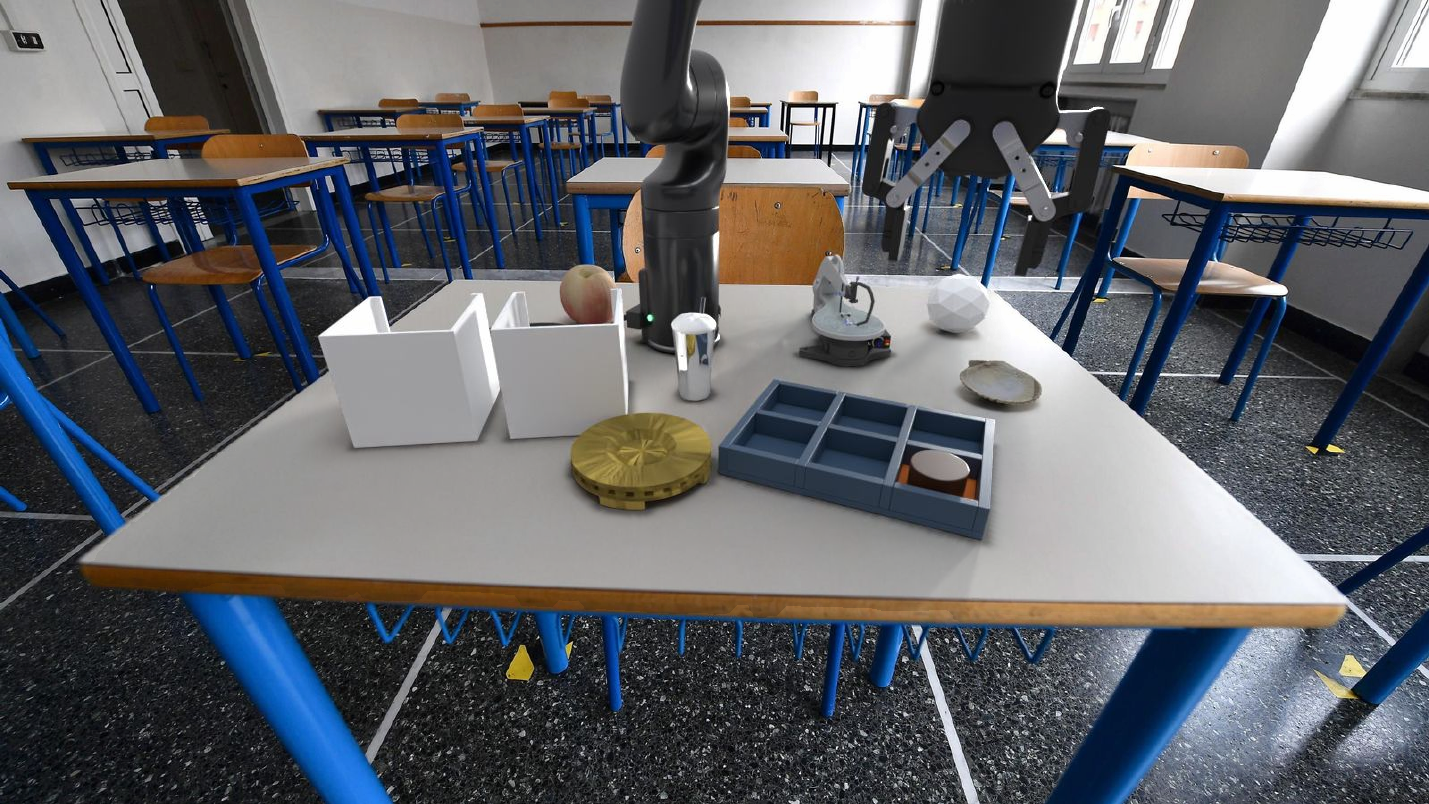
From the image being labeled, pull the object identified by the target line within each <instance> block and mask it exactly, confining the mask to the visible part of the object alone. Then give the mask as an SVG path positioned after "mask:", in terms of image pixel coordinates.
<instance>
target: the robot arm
mask: <svg viewBox="0 0 1429 804" xmlns="http://www.w3.org/2000/svg"><path fill="white" fill-rule="evenodd" d="M703 2H704V0H636V5H635V10H634V13H633V18H632V22H631V27H630V32H629V35H628V40H627V44H626V49H625V54H624V58H623V62H622V67H621V68H622V69H621V75H620V84H619V104H620V111H621V115H622V118H623V122H624V124H625V126H626V129H627V130H628V132H629V133H630V134H631V135H632V137H633V138H635V140H637V141H639V142H640V143H643V144H647V145H664V152H663V157H662V159H661V161H660V162H659V164H658V165H657V167H656V168H655V169H654V170H653V171H652V172H651V173H649V174H648V175H647V176H646V177H645V178H644V179H643V180H642V182H641V183H640V184H641V185H640V205H641V206H640V207H641V226H642V228H641V229H642V241H643V262H644V267H643V268H641V269H640V270H638V272H637V275H638V276H637V277H638V279H637V280H638V293H639V295H638V296H639V303H638V304H636V305H634V306H633V307H631V308H629V309H627V310H626V311H625V314H623V317H624V322H626V328H627V329H634V330H640V331H641V342H642V344H646V345H649V346H650V347H651V348H653V349H655V350H657V351H660V352H663V353H668V354H675V348H674V341H673V333H672V327H671V323H672V321H673V320H674V319H675V318H676V317H678V316H679V315H680V314H685V313H700V305H701V298H702V297H705V298H706V299H705V307H704V314H707V315H709V316H710V317H711V318H713V319H714V321H715V322H716V329H715V338H714V347H716V346H717V345H718V344H720V343H719V342H720V319H721V317H722V308H721V305H720V193H721V190H722V187H723V184H724V182H725V179H726V174H727V167H728V153H729V152H728V149H729V134H730V132H729V131H730V112H731V111H730V110H731V109H730V104H731V103H730V90H729V85H728V79H727V77H726V73H725V70H724V69H723V66H722V65H721V63H720V62H719V60H717V59H716V58H715V56H713V55H712V54H711V53H710V52H709V53H708V52H707V51H704V50H699V49H694V48H693V49H692V47H693V43H694V42H693V40H694V35H695V31H696V27H697V24H698V23H697V22H698V19H699V15H700V11H701V7H702V4H703ZM1081 2H1082V0H943V2H942V8H941V15H940V20H939V21H940V22H939V28H938V33H937V39H936V45H935V51H934V59H933V63H932V70H931V76H930V82H929V88H928V91H927V95H926V97H925V98H924V100H923V102H922V103H921V105H920V106H917V105H916V106H914V105H905V104H898V103H897V102H895V101H884V102H882V103H880V104H879V105H878V106H877V107H876V109H875V113H874V118H873V125H872V129H871V134H870V140H869V144H868V151H867V156H866V162H865V168H864V172H863V178H862V183H861V191H862V193H863V194H864V195H865V196H867V197H872V198H874V199H876V200H878V201H880V202H881V203H883V205H884V207H885V215H884V222H883V230H882V235H881V243H880V245H881V250H882V253H888V257H887V260H888V261H890V262H899V261H900V260H901V259H902V256H903V252H904V248H905V247H904V246H905V240H906V235H907V229H908V223H909V222H908V221H909V216H910V210H911V205H910V204H909V205H908V201H909V198H910V197H911V196H912V195H913V193H914V192H916V191H917V190H918V189H919V187H921V186H922V184H923V183H924V182H925V181H926V180H927V179H928V178H929V177H930V176H931V175H932V174H933V173H934V172H935V171H936V170H937V169H939V170H940V171H941V172H942V173H944V174H945V175H947V177H954V178H955V177H956V178H961V177H966V176H972V175H973V176H977V177H979V178H982V179H985V180H999V179H1001V178H1003V177H1007V176H1009V175H1011V174H1012V177H1013V178H1014V181H1015V182H1016V183H1017V185H1018V188H1019V189H1020V191H1021V192H1022V195H1023V196H1024V199H1025V200H1026V202H1027V204H1028V206H1029V207H1030V209H1031V211H1032V213H1031V215H1028V216H1027V220H1026V224H1025V228H1024V232H1023V236H1022V240H1021V244H1020V248H1019V251H1018V256H1017V259H1016V263H1015V267H1014V276H1016V277H1026V276H1027V273H1028V270H1029V269H1031V270H1036V269H1038V267H1039V266H1040V264H1041V263H1042V261H1043V258H1044V253H1045V250H1046V246H1047V243H1048V239H1049V235H1050V232H1051V229H1052V225H1053V223H1055V221H1056V220H1057V219H1059V218H1060V217H1064V216H1068V215H1073V214H1078V215H1079V214H1083V213H1085V212H1086V211H1088V210H1089V208H1090V207H1091V205H1092V200H1093V196H1094V192H1095V187H1096V183H1097V179H1098V175H1099V171H1100V166H1101V162H1102V158H1103V153H1104V149H1105V145H1106V142H1107V141H1106V140H1107V136H1108V133H1109V128H1110V123H1111V119H1112V114H1111V112H1110V110H1108V109H1107V108H1104V107H1100V106H1095V107H1091V108H1090V109H1089V110H1088V109H1087V110H1060V109H1059V105H1058V93H1059V88H1060V84H1061V80H1062V76H1063V72H1064V68H1065V64H1066V61H1067V57H1068V52H1069V49H1070V45H1071V41H1072V38H1073V33H1074V29H1075V26H1076V21H1077V17H1078V12H1079V11H1080V6H1081ZM913 123H916V127H917V129H918V131H919V133H920V135H921V138H922V139H923V141H924V144H925V145H926V147H927V149H928V150H926V152H925V153H923V155H922V156H921V157H920V158H919V159H918V160H917V161H916V162H915V164H914V165H913V166H912V167H911V168H910V169H909V170H908V171H907V172H906V174H904V176H903V177H902V178H901V179H900V180H899V181H898V182H897V183H896V182H894V181H892V180H891V179H887V178H888V174H889V173H888V172H889V168H890V162H891V158H892V153H893V148H894V142H895V140H897V139H901V138H902V137H903V136H904V135H905V134H906V132H907V129H908V127H910V125H911V124H913ZM1057 129H1061V130H1062V131H1064V133H1065V141H1066V144H1067V145H1068V146H1069V147H1070V148H1073V149H1076V152H1075V156H1074V162H1073V165H1072V171H1071V176H1070V181H1069V185H1068V190H1067V191H1065V192H1062V193H1057V194H1053V195H1052V194H1051V192H1050V191H1049V189H1048V187H1047V185H1046V183H1045V181H1044V179H1043V177H1042V175H1041V173H1040V171H1039V169H1038V167H1037V165H1036V163H1035V160H1034V158H1033V157H1032V155H1033V153H1034V152H1035V151H1036V150H1037V149H1038V148H1039V147H1041V145H1042V144H1044V142H1046V141H1047V140H1048V139H1049V138H1050V137H1051V136H1052V135H1053V134H1054V133H1055V132H1056V130H1057ZM610 324H613V321H612V322H611V323H610ZM529 325H530V327H538V326H564V325H565V324H563V323H560V322H529ZM491 328H492V326H491V327H489V330H491ZM490 334H491V331H490Z"/></svg>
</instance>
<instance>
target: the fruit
mask: <svg viewBox="0 0 1429 804" xmlns="http://www.w3.org/2000/svg"><path fill="white" fill-rule="evenodd" d="M611 289H618V287H617V285H616V283H615V281H614V279H613V278H612V276H611V274H610V273H608V272H607V270H605V269H604V268H602V267H601V266H598V265H594V264H579V265H575V266H573V267H571V268H570V269H569V270H568V271H567V272H566V273H565V275H564V276H563V278H562V280H561V282H560V285H559V299H560V303H561V306H562V309H563V311H564V312H565V313H566V315H567V316H568V317H569V318H570V319H571V320H573V322H575V323H577V325H590V324H606V323H607V322H609V321H610V320H611V319H613V315H612V303H611Z"/></svg>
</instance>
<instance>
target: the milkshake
mask: <svg viewBox="0 0 1429 804" xmlns="http://www.w3.org/2000/svg"><path fill="white" fill-rule="evenodd" d="M705 299H706V298H705V297H702V298H701V305H700V313H685V314H680V315H679V316H678V317H676V318H675V319H674V320H673V321H672V323H671V327H672V333H673V341H674V348H675V353H674V355H675V365H676V375H677V381H678V382H677V384H678V392H679V395H680V397H681V399H683V400H686V401H689V402H699V401H703V400H706V399H707V398H708V397H709V396H710V394H711V385H712V371H713V359H714V348H715V346H714V338H715V329H716V322H715V321H714V319H713V318H711V317H710V316H709V315H707V314H704V307H705Z"/></svg>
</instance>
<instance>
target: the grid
mask: <svg viewBox="0 0 1429 804" xmlns="http://www.w3.org/2000/svg"><path fill="white" fill-rule="evenodd" d="M995 425H996V419H992V418H987V417H980V416H975V415H970V414H966V413H965V414H964V413H958V412H953V411H948V410H942V409H938V408H937V409H936V408H931V407H925V406H921V405H915V404H908V403H904V402H899V401H893V400H888V399H883V398H877V397H872V396H868V395H867V396H866V395H861V394H856V393H850V392H846V391H840V390H839V391H838V390H835V389H829V388H824V387H817V386H813V385H807V384H801V383H795V382H790V381H786V380H785V381H784V380H780V379H773V380H772V381H771V382H770V383H769V385H768V386H767V387H766V388H765V389H764V391H762V393H761V394H760V395H759V396H758V398H756V400H755V401H754V403H753V404H752V405H751V406H750V407H749V409H747V411H746V412H745V414H743V416H742V417H741V418H740V420H739V421H738V422H737V423H736V424H735V425H734V427H732V429H731V430H730V432H729V433H728V434H727V435H726V436H725V438H723V440H722V441H721V442H720V443H719V445H718V449H717V450H718V451H717V453H718V461H717V463H718V466H717V469H718V471H717V473H718V474H719V475H722V476H727V477H732V478H735V479H738V480H742V481H746V482H751V483H755V484H759V485H763V486H767V487H769V488H770V487H771V488H775V489H778V490H783V491H787V492H791V493H795V494H799V495H803V496H806V497H810V498H813V499H818V500H822V501H826V502H830V503H833V504H838V505H842V506H846V507H850V508H854V509H857V510H861V511H866V512H870V513H873V514H878V515H881V516H884V517H885V516H886V517H890V518H893V519H898V520H900V521H901V520H902V521H906V522H909V523H913V524H917V525H920V526H921V525H922V526H925V527H928V528H933V529H936V530H941V531H945V532H949V533H953V534H957V535H961V536H965V537H969V538H973V539H977V540H980V541H982V540H983V538H984V535H985V534H984V533H985V530H986V526H987V523H988V518H989V515H990V511H991V499H992V498H991V497H992V480H993V479H992V478H993V461H994V444H995V442H994V441H995ZM925 450H937V451H943V452H947V453H950V454H953V455H955V456H957V457H959V458H960V459H962V460H963V461H964V462H965V463H966V464H967V465H968V467H969V476H968V480H967V484H966V488H965V493H964V497H958V496H954V495H950V494H945V493H941V492H937V491H932V490H928V489H924V488H919V487H915V486H911V485H907V484H906V482H907V477H908V471H909V466H910V460H911V457H912V456H913V455H914V454H916V453H917V452H920V451H925Z"/></svg>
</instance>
